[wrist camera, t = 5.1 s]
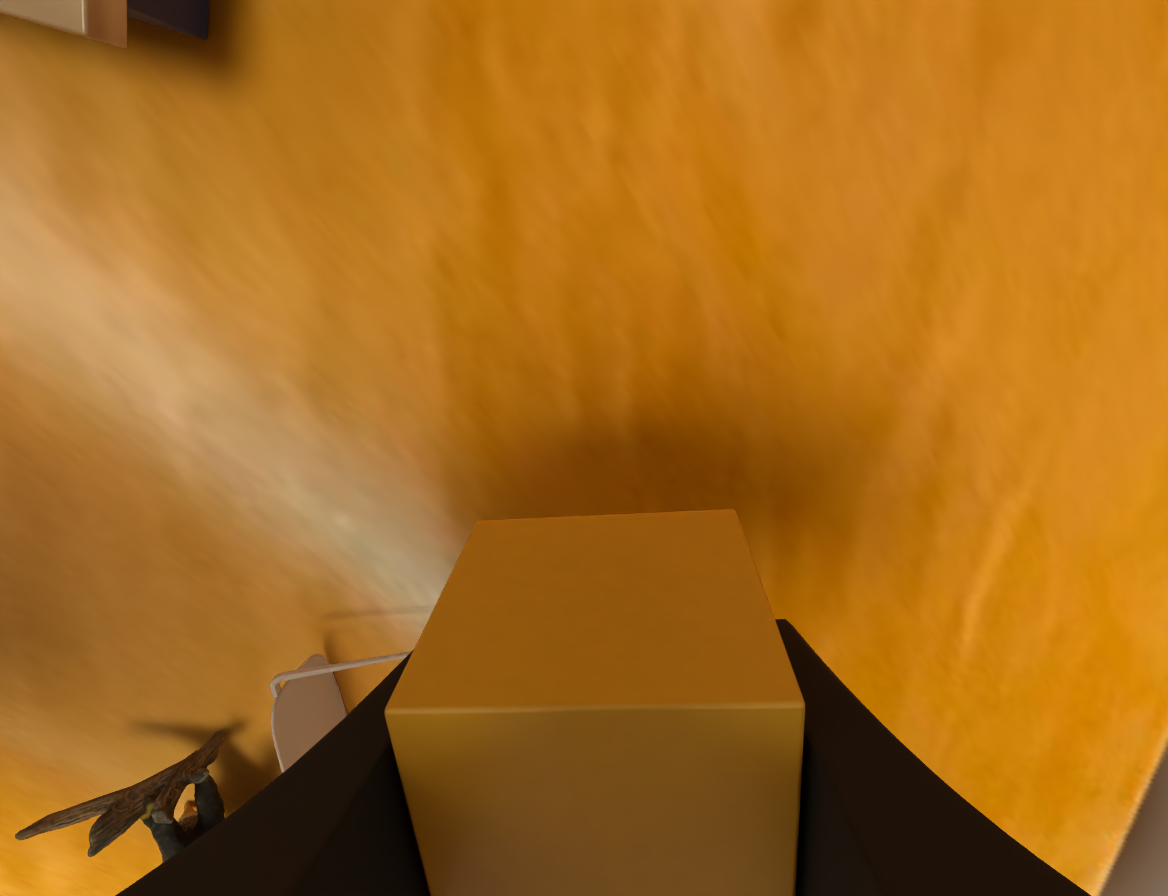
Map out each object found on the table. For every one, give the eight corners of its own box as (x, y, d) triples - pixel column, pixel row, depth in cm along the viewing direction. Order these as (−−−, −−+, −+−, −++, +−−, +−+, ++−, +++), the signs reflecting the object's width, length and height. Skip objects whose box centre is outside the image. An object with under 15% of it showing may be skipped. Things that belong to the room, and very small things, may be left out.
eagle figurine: (53, 759, 22) (120, 971, 24) (-31, 908, 16) (68, 1184, 17) (286, 682, 25) (331, 872, 27) (293, 779, 19) (352, 1020, 21)
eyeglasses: (310, 615, 21) (250, 703, 17) (549, 586, 20) (543, 670, 17) (406, 899, 25) (376, 1017, 22) (600, 880, 25) (604, 996, 21)
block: (735, 715, 12) (793, 983, 8) (508, 718, 13) (447, 974, 8) (735, 507, 11) (807, 703, 6) (476, 519, 11) (381, 711, 7)
